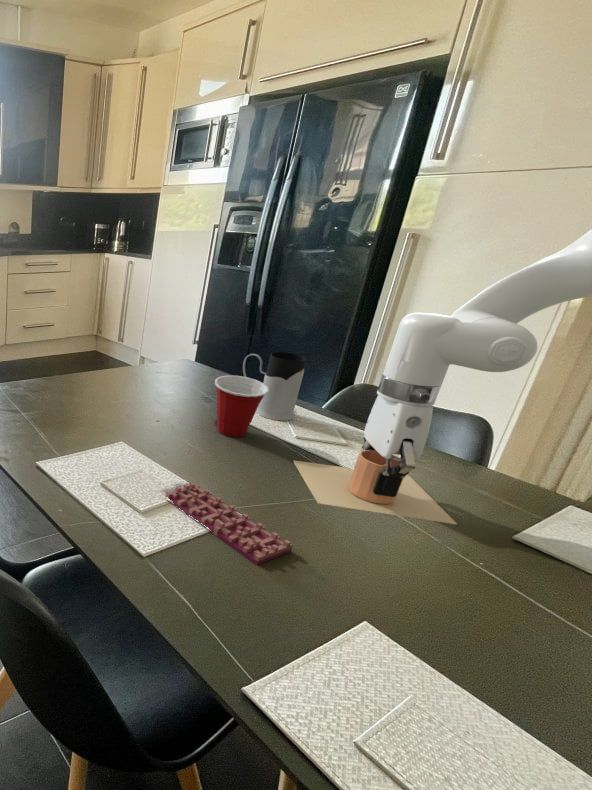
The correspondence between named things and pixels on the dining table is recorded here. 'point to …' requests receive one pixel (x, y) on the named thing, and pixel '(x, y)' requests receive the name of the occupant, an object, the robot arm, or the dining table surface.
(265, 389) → the plastic cup
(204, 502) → the maroon flat bar
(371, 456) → the peach cup
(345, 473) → the mat
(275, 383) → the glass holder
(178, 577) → the dining table surface
